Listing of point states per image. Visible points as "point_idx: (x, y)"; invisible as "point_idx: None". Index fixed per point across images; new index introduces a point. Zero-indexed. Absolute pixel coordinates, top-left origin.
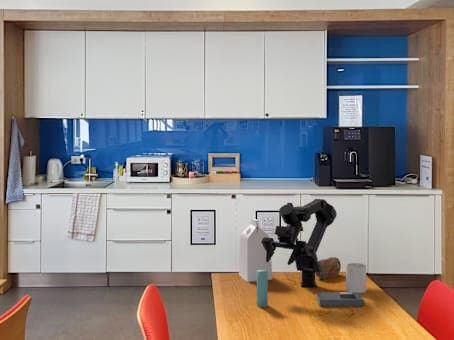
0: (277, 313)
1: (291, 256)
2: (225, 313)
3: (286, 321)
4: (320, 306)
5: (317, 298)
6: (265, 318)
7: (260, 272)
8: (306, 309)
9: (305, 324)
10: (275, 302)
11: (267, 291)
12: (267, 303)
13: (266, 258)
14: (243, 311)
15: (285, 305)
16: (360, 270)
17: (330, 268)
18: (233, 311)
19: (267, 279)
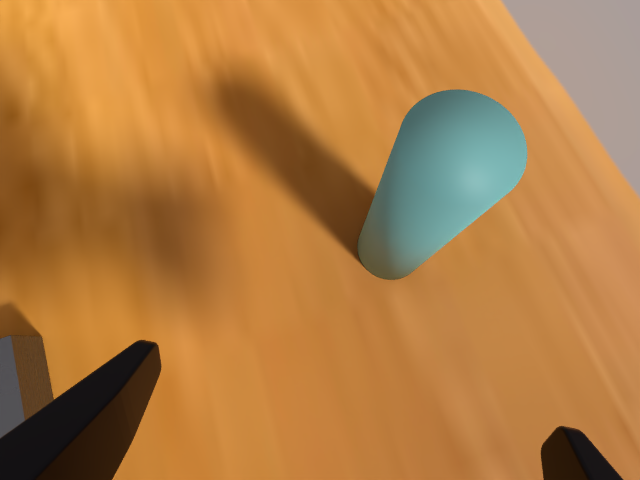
0: (262, 140)
1: (14, 451)
2: (513, 63)
3: (189, 46)
4: (36, 338)
5: None
6: (298, 55)
7: (453, 91)
8: (118, 257)
9: (94, 35)
10: (335, 335)
11: (368, 224)
12: (358, 243)
13: (606, 467)
14: None
15: (257, 293)
16: None
17: None
18: None
19: (383, 194)
